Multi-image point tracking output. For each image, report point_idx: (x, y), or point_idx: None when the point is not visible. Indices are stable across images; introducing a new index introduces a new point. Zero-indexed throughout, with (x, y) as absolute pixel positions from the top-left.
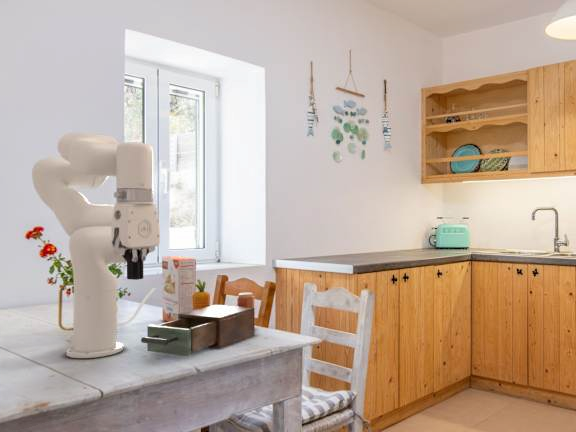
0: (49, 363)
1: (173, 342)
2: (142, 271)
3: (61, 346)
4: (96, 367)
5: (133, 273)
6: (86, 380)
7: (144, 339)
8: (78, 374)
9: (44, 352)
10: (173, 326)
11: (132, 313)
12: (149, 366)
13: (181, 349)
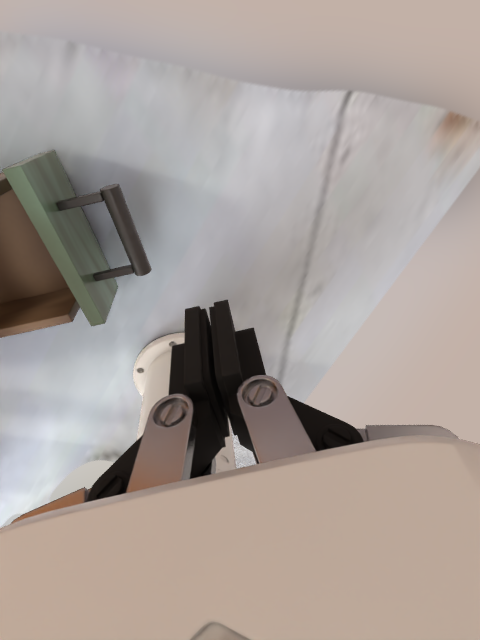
0: (273, 360)
1: (70, 215)
2: (191, 331)
3: None
4: (243, 277)
5: (248, 332)
6: (310, 205)
7: (146, 261)
8: (291, 259)
9: None
10: (17, 317)
11: None
12: (166, 185)
13: (60, 179)
